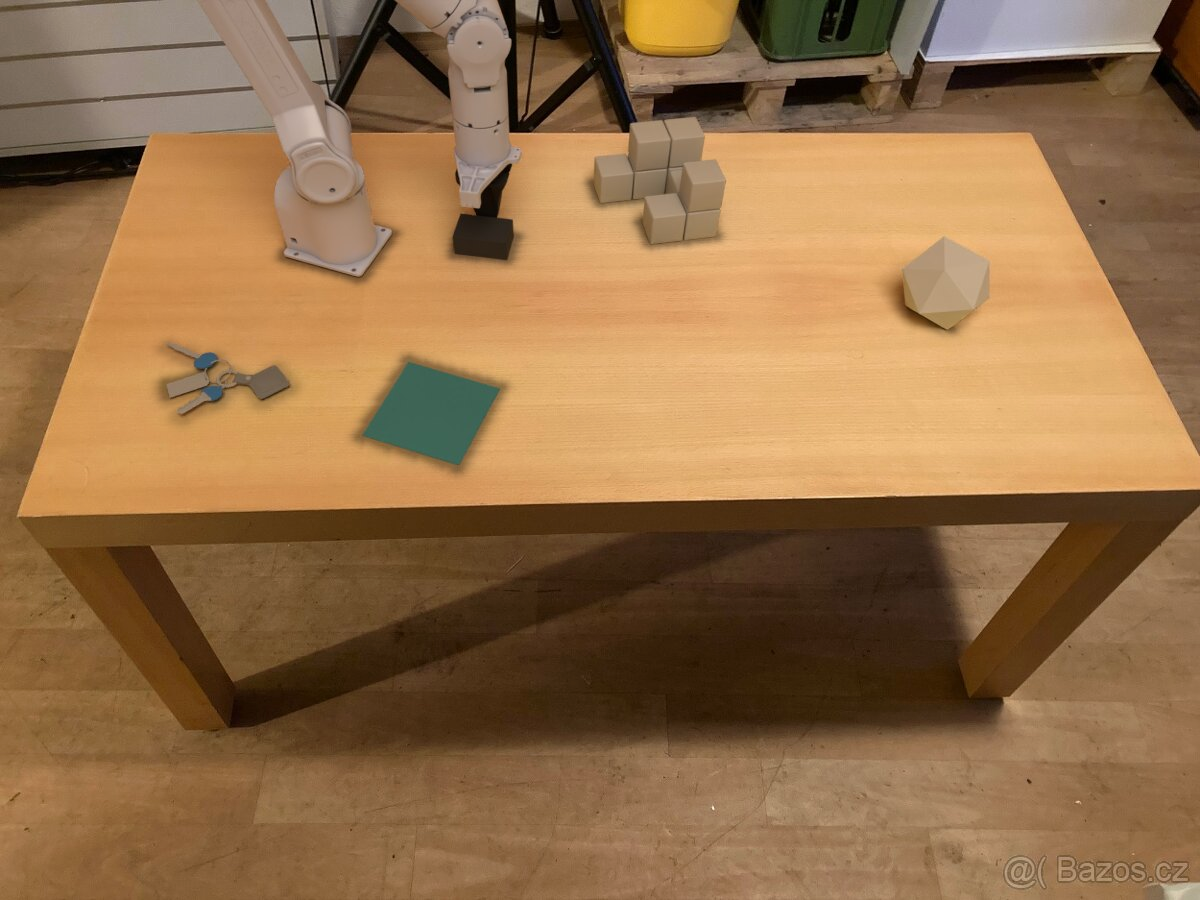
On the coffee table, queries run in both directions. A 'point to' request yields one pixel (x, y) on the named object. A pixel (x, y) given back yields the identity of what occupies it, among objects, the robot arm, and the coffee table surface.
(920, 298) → the die
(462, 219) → the eraser
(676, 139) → the grey cube cluster
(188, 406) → the key chain
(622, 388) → the coffee table surface
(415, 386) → the mat
